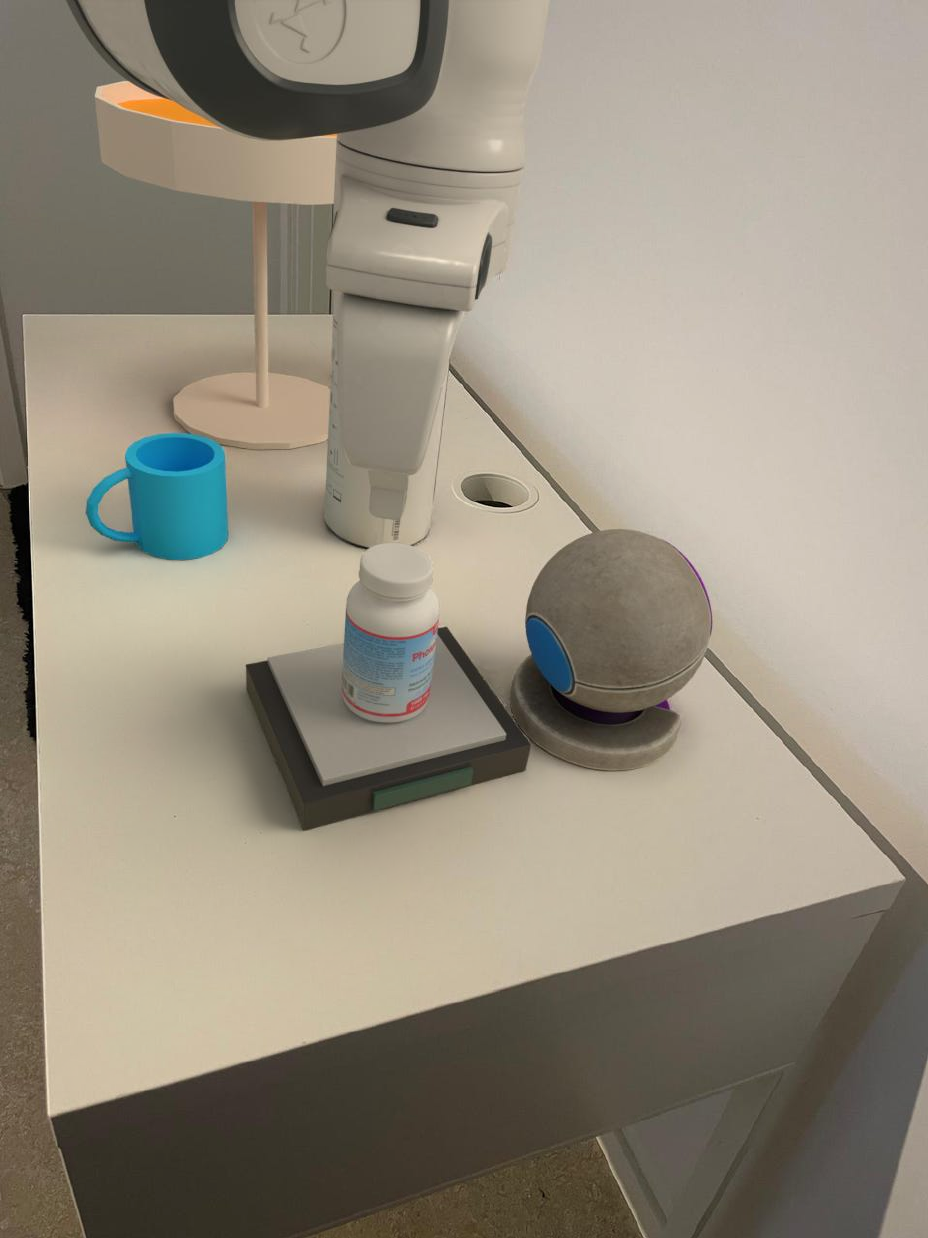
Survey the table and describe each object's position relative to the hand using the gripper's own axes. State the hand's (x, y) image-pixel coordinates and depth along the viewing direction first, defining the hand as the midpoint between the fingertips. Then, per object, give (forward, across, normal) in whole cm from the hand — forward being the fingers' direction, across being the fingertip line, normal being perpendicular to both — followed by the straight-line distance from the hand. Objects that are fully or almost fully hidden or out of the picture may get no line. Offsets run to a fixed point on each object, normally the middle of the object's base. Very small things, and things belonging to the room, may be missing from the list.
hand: (399, 473), depth 52 cm
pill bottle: (+18, -1, 0) cm, 18 cm away
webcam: (+21, -6, +16) cm, 27 cm away
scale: (+21, -1, +1) cm, 21 cm away
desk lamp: (+21, -51, -21) cm, 59 cm away
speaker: (+21, -29, -4) cm, 36 cm away
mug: (+21, -21, -23) cm, 37 cm away
